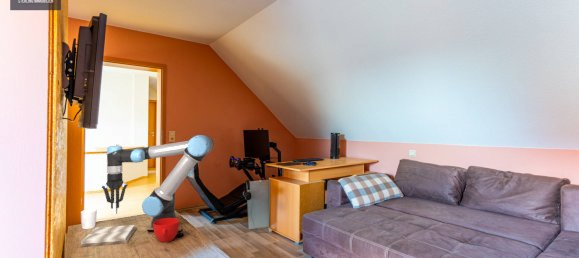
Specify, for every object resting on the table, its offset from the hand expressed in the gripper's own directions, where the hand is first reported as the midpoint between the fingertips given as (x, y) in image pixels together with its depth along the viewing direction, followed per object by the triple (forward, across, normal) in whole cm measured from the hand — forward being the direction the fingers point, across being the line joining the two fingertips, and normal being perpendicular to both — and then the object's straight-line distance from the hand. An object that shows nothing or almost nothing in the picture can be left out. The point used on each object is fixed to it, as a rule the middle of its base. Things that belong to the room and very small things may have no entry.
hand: (115, 213), depth 167 cm
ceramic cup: (+12, -29, +20) cm, 37 cm away
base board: (+11, +1, +7) cm, 13 cm away
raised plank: (+10, +1, +2) cm, 10 cm away
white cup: (+11, +18, -14) cm, 25 cm away
